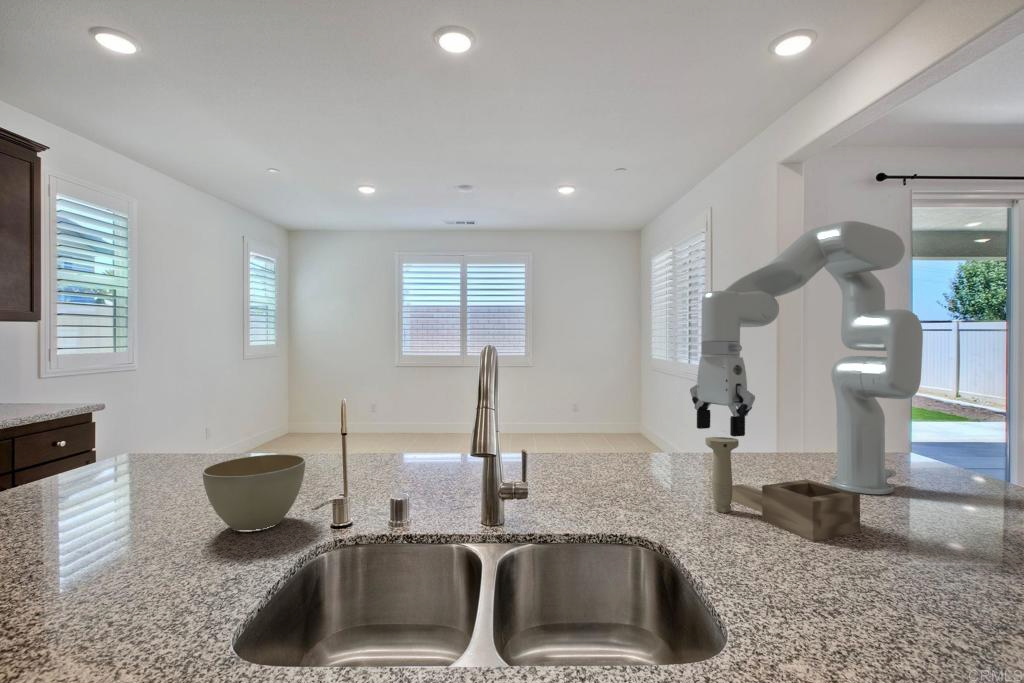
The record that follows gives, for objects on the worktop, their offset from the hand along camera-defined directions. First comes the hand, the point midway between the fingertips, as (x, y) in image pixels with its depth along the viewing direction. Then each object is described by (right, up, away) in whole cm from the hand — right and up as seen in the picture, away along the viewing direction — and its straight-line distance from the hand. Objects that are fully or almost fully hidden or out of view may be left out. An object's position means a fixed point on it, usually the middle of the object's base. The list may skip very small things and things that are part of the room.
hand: (719, 431), depth 105 cm
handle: (+1, -17, 0) cm, 17 cm away
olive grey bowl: (-94, -18, -6) cm, 96 cm away
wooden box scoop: (+11, -17, -3) cm, 20 cm away
